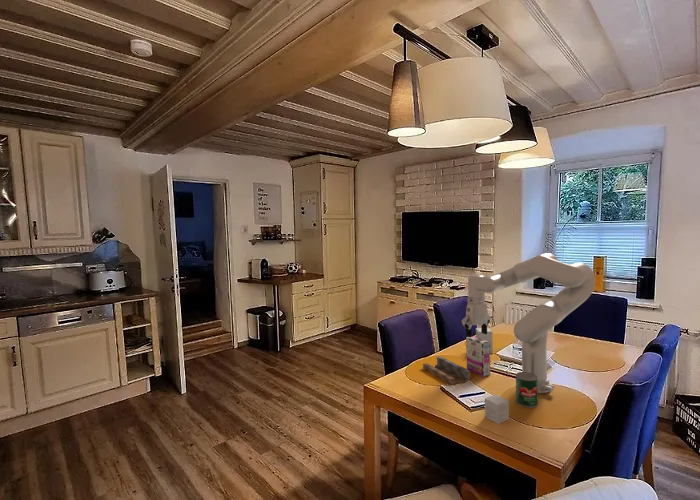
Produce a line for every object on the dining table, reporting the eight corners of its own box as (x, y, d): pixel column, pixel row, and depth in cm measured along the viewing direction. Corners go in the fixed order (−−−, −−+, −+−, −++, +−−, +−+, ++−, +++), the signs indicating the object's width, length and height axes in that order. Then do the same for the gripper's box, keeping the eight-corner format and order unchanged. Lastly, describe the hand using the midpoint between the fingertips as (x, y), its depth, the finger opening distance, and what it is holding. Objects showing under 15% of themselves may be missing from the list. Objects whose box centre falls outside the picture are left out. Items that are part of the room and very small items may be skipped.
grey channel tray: (470, 380, 167) (469, 370, 167) (451, 385, 163) (451, 375, 163) (440, 364, 188) (439, 356, 187) (423, 368, 183) (422, 359, 183)
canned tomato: (525, 409, 140) (525, 381, 139) (511, 399, 147) (511, 373, 147) (542, 405, 142) (542, 378, 141) (527, 396, 149) (527, 370, 149)
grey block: (495, 412, 138) (495, 393, 138) (509, 419, 133) (509, 400, 133) (484, 417, 135) (484, 398, 135) (498, 424, 130) (497, 404, 130)
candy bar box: (491, 375, 172) (490, 341, 171) (483, 377, 170) (482, 343, 169) (474, 367, 182) (473, 335, 181) (466, 369, 180) (465, 337, 179)
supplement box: (489, 349, 207) (488, 327, 206) (493, 353, 199) (492, 331, 198) (475, 349, 207) (475, 327, 206) (479, 353, 200) (478, 331, 199)
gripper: (467, 303, 167) (467, 340, 168) (496, 299, 174) (496, 334, 175) (456, 300, 174) (457, 335, 175) (484, 296, 181) (484, 330, 182)
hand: (476, 335), depth 175 cm, fingers open, 9 cm apart
